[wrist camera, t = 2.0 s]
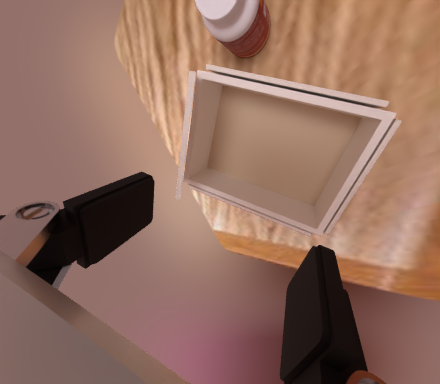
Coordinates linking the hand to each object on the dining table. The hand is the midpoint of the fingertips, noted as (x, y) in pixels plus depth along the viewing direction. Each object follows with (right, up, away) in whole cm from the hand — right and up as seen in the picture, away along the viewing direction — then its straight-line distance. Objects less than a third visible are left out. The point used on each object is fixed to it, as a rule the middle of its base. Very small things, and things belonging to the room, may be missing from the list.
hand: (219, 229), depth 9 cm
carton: (+8, +9, +21) cm, 24 cm away
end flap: (-5, +10, +17) cm, 20 cm away
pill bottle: (+4, +24, +16) cm, 29 cm away
